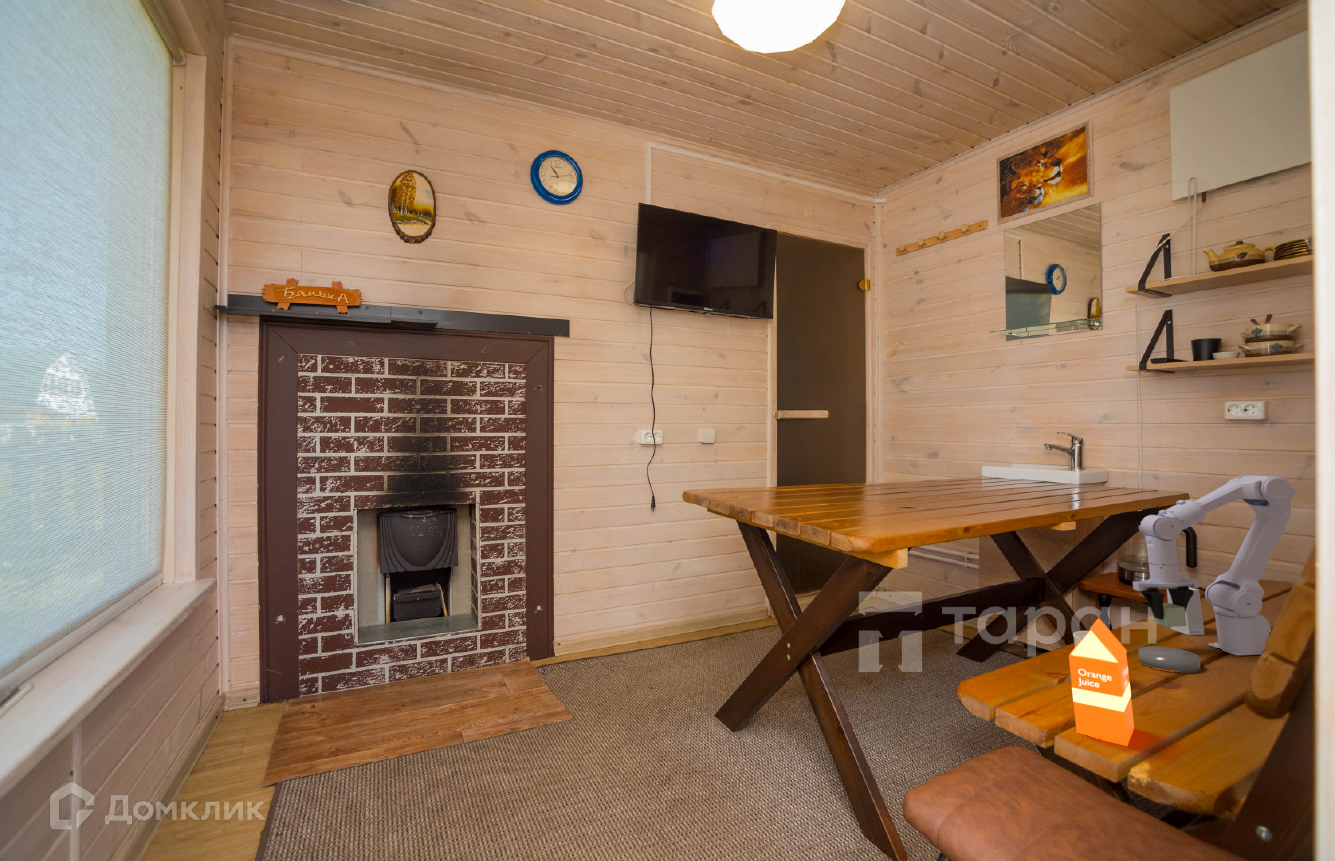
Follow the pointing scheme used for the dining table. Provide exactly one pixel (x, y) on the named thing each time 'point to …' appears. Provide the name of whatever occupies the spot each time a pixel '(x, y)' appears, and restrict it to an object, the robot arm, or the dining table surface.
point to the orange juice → (1101, 687)
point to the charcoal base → (1170, 659)
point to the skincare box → (1191, 615)
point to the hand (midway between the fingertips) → (1169, 617)
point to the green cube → (1172, 616)
